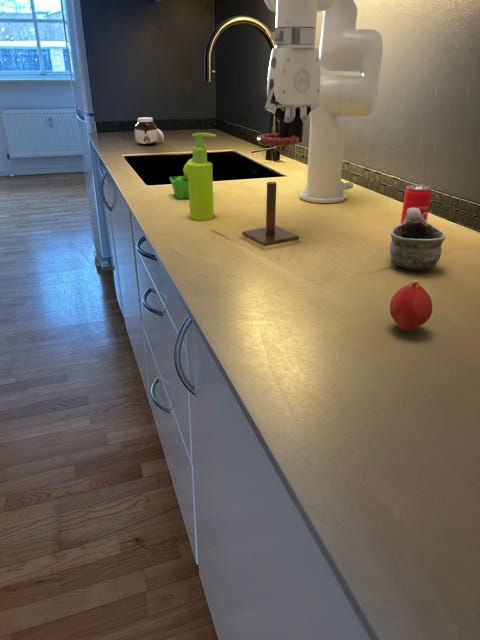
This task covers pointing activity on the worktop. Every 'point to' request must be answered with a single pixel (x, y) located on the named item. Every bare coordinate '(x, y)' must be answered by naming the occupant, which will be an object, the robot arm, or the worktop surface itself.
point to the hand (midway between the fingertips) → (290, 141)
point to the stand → (270, 224)
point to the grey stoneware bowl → (415, 242)
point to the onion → (411, 306)
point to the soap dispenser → (200, 181)
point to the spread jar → (147, 132)
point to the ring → (277, 140)
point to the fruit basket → (181, 183)
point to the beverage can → (417, 200)
